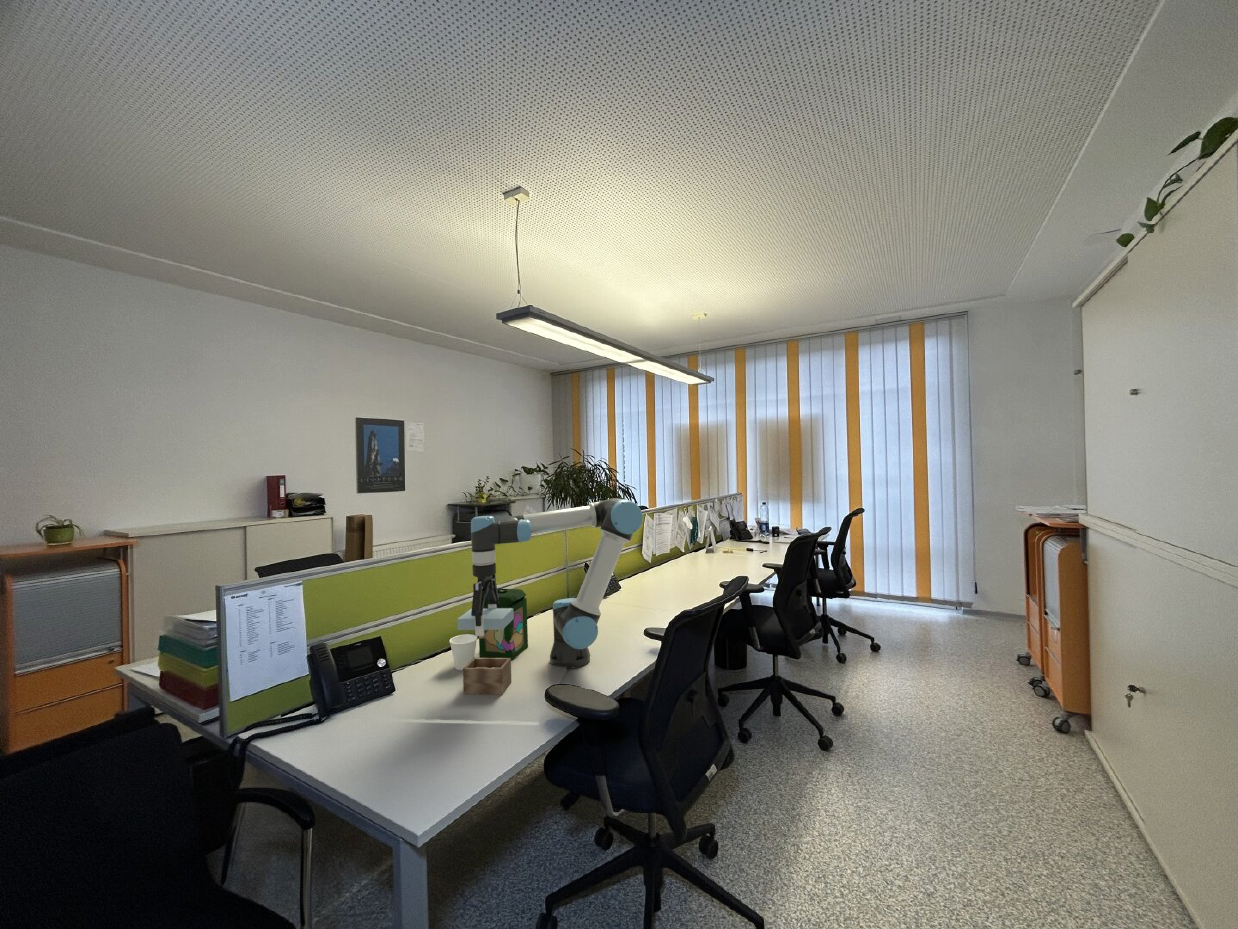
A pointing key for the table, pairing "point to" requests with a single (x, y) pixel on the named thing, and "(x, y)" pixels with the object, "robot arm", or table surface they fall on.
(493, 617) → the lid
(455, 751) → the table surface
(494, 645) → the container
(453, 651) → the cup
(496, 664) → the crate
